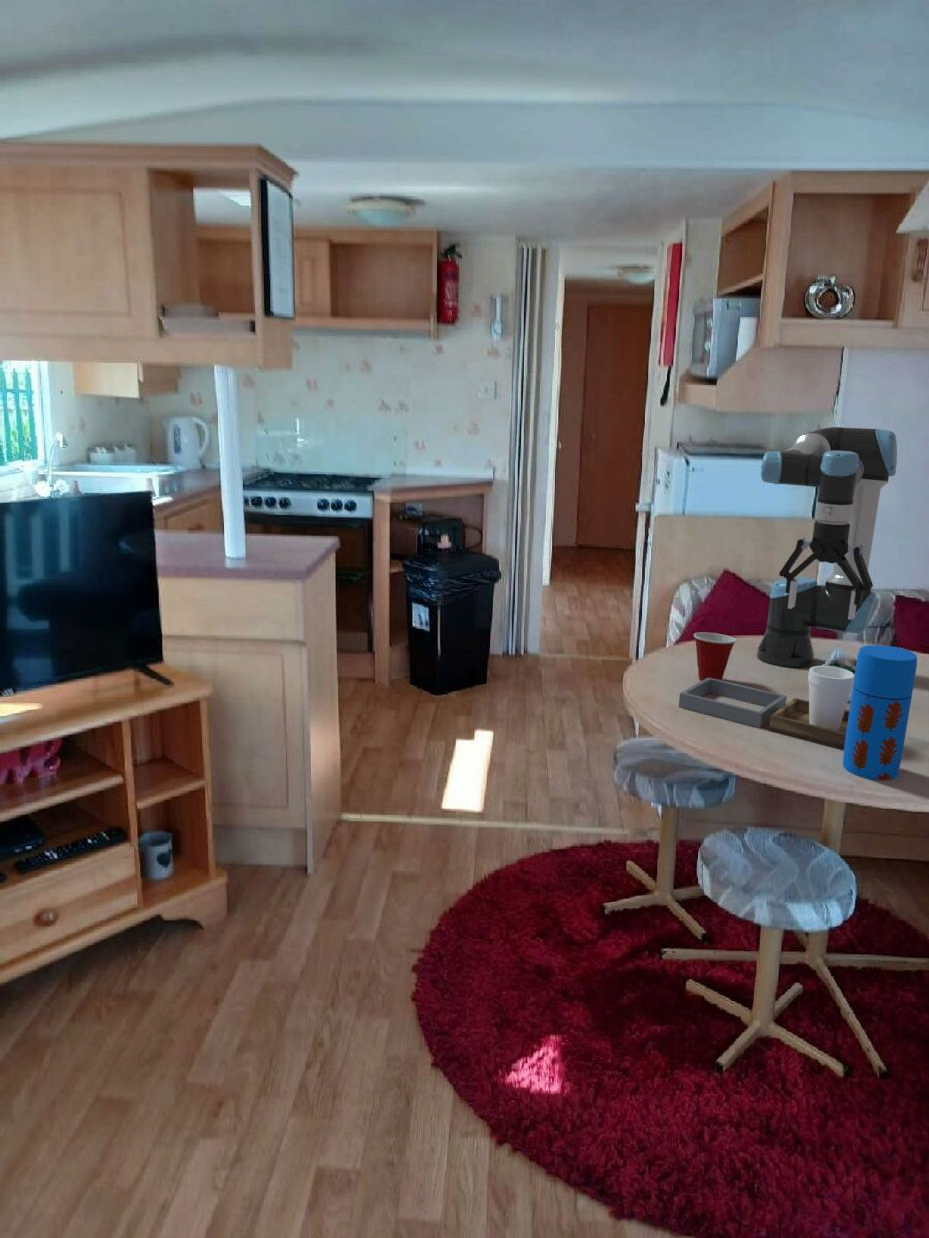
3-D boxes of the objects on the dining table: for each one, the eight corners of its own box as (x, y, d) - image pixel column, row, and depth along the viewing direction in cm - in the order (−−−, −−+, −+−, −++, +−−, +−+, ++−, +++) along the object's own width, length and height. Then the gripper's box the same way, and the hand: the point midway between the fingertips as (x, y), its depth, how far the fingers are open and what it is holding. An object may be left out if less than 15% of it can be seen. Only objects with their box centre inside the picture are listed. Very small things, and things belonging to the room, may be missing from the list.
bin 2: (793, 711, 226) (795, 697, 225) (881, 733, 214) (883, 718, 213) (768, 730, 214) (770, 715, 213) (860, 753, 202) (862, 738, 201)
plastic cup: (738, 679, 248) (743, 635, 245) (720, 689, 240) (725, 644, 237) (700, 670, 255) (705, 627, 252) (681, 679, 247) (686, 635, 244)
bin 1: (706, 690, 239) (708, 677, 238) (785, 709, 227) (786, 695, 226) (678, 706, 226) (679, 693, 226) (759, 727, 215) (761, 713, 214)
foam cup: (849, 737, 208) (857, 680, 205) (805, 732, 210) (813, 676, 207) (842, 721, 217) (849, 667, 214) (799, 717, 219) (807, 664, 216)
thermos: (909, 780, 189) (929, 661, 183) (857, 780, 188) (875, 660, 182) (881, 758, 200) (899, 644, 193) (832, 758, 199) (849, 644, 192)
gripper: (771, 516, 216) (761, 606, 222) (887, 531, 202) (873, 626, 208) (782, 512, 222) (772, 599, 228) (895, 526, 207) (882, 619, 214)
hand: (820, 612), depth 218 cm, fingers open, 13 cm apart
